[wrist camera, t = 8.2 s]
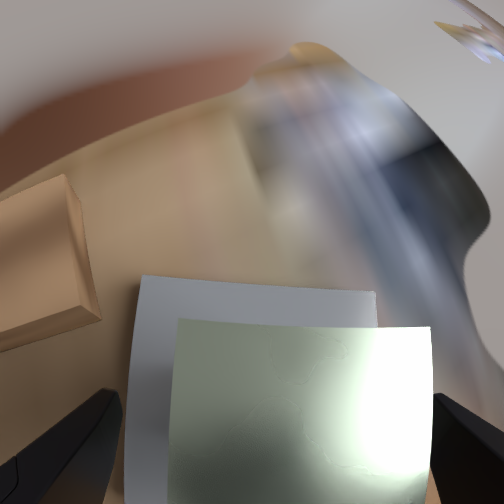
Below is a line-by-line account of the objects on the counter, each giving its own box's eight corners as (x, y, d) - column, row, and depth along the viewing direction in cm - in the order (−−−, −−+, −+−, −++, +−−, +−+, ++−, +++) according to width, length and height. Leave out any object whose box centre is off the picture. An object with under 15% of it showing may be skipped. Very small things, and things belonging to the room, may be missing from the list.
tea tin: (312, 451, 12) (423, 507, 4) (197, 449, 12) (167, 529, 4) (314, 366, 14) (429, 326, 6) (203, 360, 14) (178, 317, 6)
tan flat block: (102, 319, 15) (80, 304, 13) (-25, 359, 13) (-55, 350, 10) (80, 201, 18) (64, 173, 15) (-31, 249, 16) (-54, 230, 13)
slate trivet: (359, 502, 12) (371, 510, 11) (132, 500, 11) (124, 508, 10) (363, 299, 17) (375, 291, 16) (148, 284, 16) (142, 274, 15)
